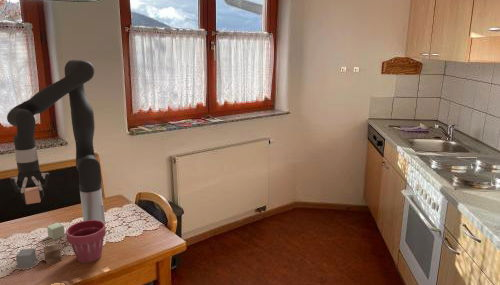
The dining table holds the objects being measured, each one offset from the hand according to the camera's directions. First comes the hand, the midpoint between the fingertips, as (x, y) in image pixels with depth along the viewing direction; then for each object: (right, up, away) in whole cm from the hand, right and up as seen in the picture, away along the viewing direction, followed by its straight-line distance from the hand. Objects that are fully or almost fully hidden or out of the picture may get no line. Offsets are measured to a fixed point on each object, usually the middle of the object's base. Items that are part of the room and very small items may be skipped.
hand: (33, 199), depth 159 cm
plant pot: (+24, -23, -2) cm, 33 cm away
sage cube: (+2, -18, +15) cm, 24 cm away
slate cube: (+1, -24, -7) cm, 25 cm away
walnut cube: (+10, -23, -4) cm, 26 cm away
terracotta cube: (0, -1, 0) cm, 1 cm away
